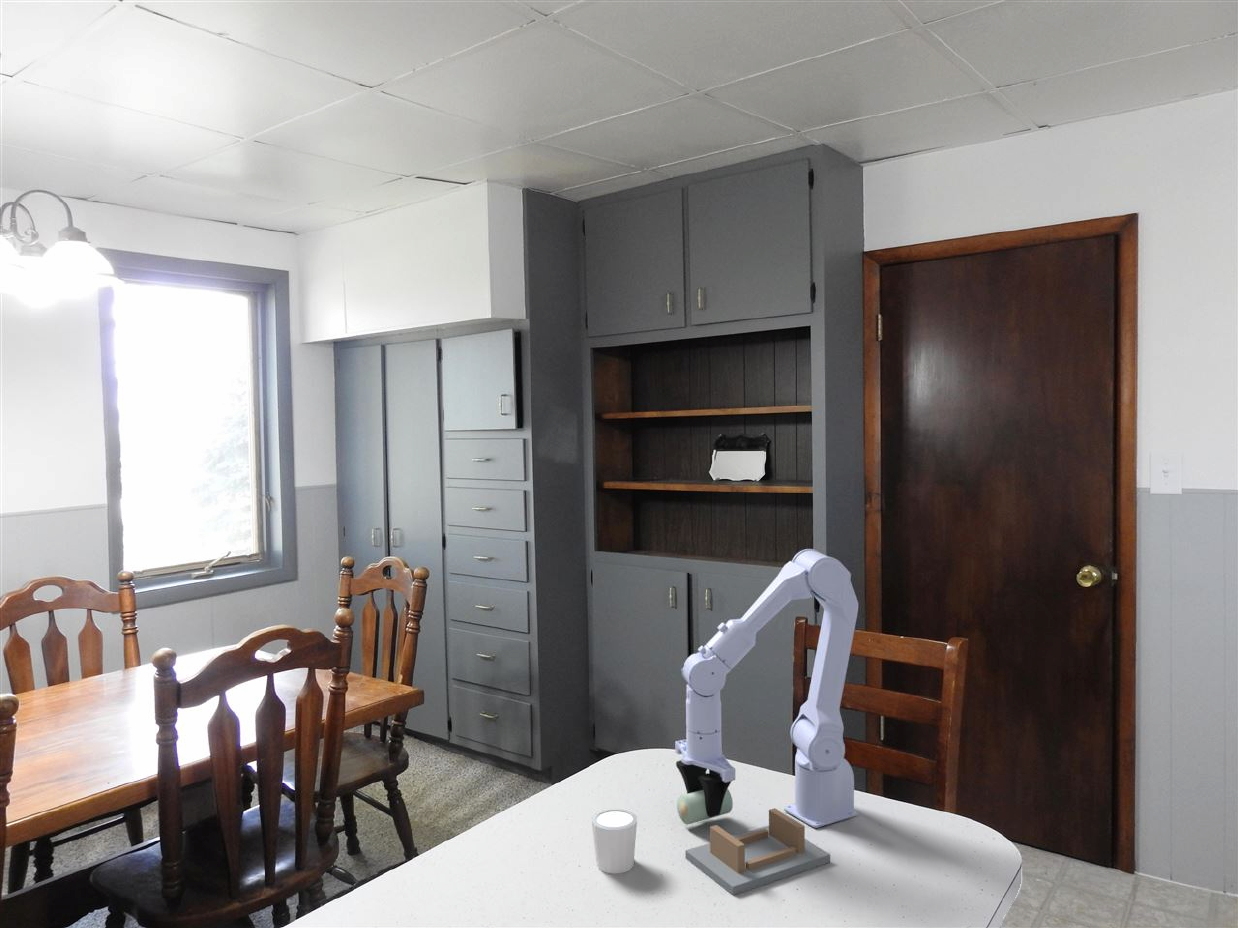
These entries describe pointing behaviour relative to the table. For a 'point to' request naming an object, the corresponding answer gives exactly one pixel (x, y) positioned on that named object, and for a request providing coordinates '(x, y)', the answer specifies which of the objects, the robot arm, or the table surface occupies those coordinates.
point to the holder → (757, 854)
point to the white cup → (614, 840)
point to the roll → (699, 806)
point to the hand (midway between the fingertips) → (704, 808)
